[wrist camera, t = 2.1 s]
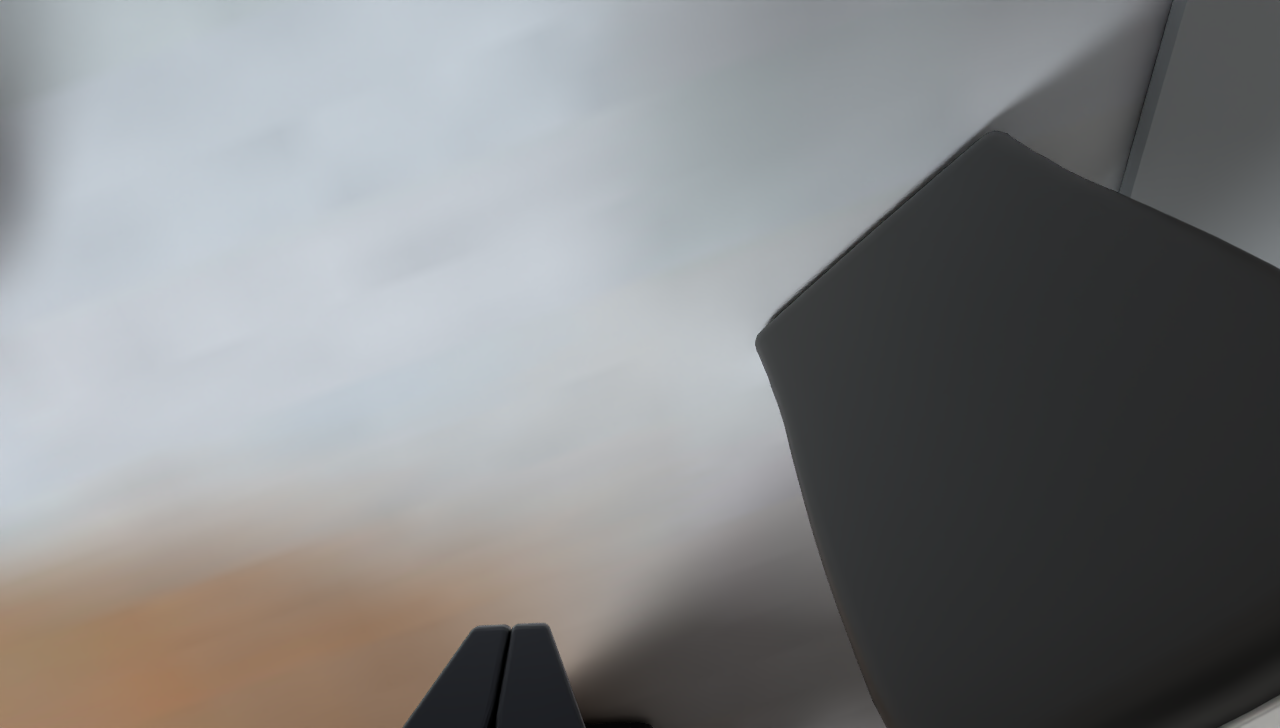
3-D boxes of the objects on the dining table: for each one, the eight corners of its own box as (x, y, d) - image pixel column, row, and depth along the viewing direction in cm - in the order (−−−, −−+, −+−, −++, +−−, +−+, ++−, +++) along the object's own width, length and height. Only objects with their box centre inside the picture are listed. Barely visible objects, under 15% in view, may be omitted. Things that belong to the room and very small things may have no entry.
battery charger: (843, 435, 20) (1092, 979, 10) (737, 339, 18) (899, 859, 8) (1097, 235, 17) (1774, 676, 7) (998, 109, 16) (1667, 439, 6)
